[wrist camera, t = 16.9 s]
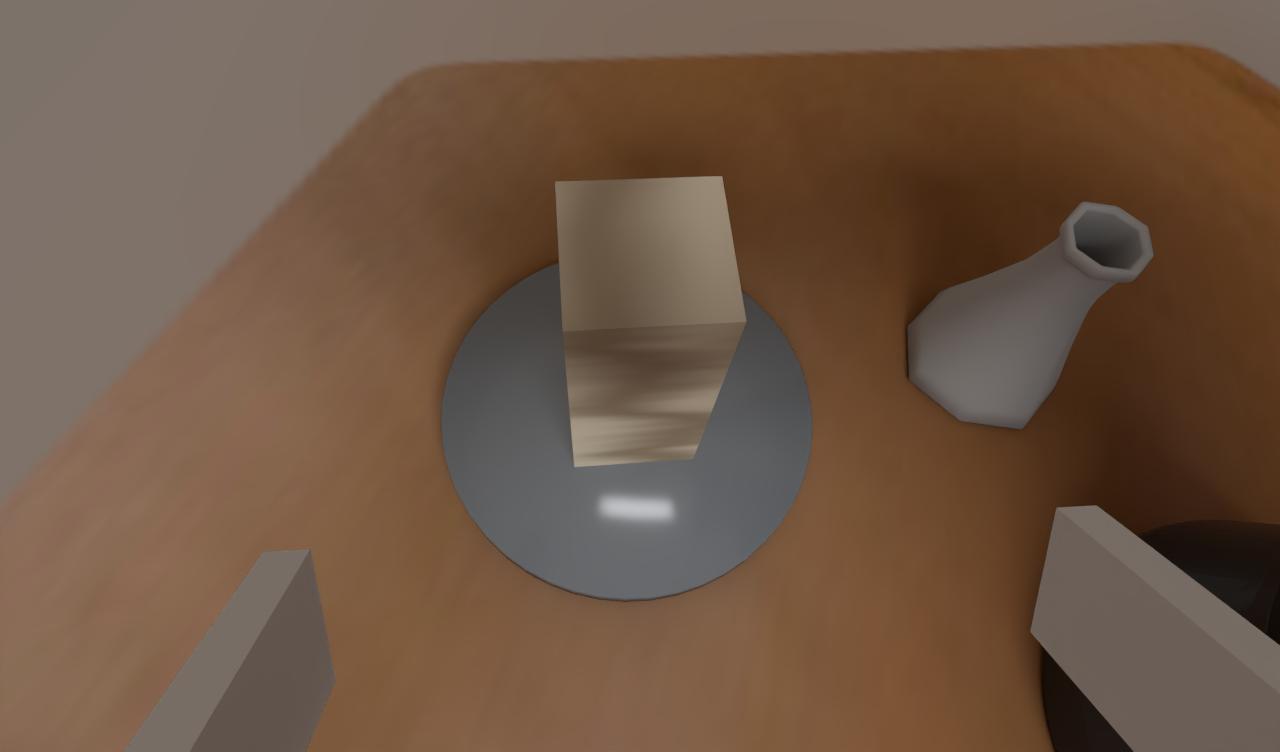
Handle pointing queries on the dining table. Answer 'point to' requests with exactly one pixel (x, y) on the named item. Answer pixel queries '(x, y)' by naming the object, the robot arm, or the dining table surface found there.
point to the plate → (620, 493)
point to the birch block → (645, 313)
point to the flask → (1022, 319)
